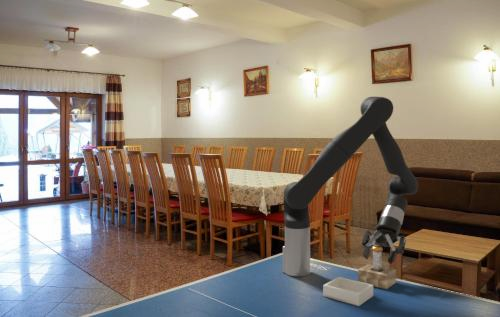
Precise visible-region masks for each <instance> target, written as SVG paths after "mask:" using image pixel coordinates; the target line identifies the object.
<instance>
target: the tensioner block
mask: <svg viewBox="0 0 500 317" xmlns="http://www.w3.org/2000/svg"><path fill="white" fill-rule="evenodd" d="M357 281H359V282H363V283H367V284H372V285H373V287H375V288H379V289H383V290H388V289H389V288H391V287H392V286H393V285H395V284H396V283H397V269H395V268H391V267H386V266H381V272H377V271H373V264H370V263H367V264H366V265H364V266H361V267H360V268H359V269H357Z"/></svg>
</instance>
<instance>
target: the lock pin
mask: <svg viewBox="0 0 500 317" xmlns="http://www.w3.org/2000/svg"><path fill="white" fill-rule="evenodd" d="M383 247H384V246H379V245H378V246H372V249H371V250H372V265H373V271H377V272H381V267H383V266H382V265H383V264H382V261H383V260H382V258H383V257H382V256H383V255H382V252H383Z"/></svg>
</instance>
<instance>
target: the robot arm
mask: <svg viewBox="0 0 500 317" xmlns="http://www.w3.org/2000/svg"><path fill="white" fill-rule="evenodd" d="M393 112H394V104H393V102H392V101H391V99H389V98H387V97H384V96H369V97H366V98H365V99H364V100H363V101H362V102H361V104H360V114H361V116H360V117H359V118H358V120H356V122H354V123H353V124H352V125H351V126H349V127H348V128H346V129H344V130H343V131H341V132H340V133H339V134H337V135H336V136H334V137H333V138H332V139H331V140H330V142H328V144H326V146H325V147H324V148H323V149H322V151H320V153H319V155H318V156H317V157H316V159H315V161H314V163H313V164H312V166H311V168H310V169H309V170H308V171H307V172H306V173H305V174H304V175H303V176H302V177H301V178H300V179H299V180H298V181H293V182H290V183H288V184H287V185H286V186H285V187H284V188H285V189H284V191H283V219H284V245H283V246H282V273H284V274H286V275H287V276H291V277H306V276H308V275H310V274H311V217H310V212H309V205H310V204H311V202H312V201H313V200H314V199H315V197H316V196H317V194H318V192H319V191H320V190H321V189H322V188H323V186H324V185H325V184H326V183H327V182H328V181H329V180H331V178H333V177H334V175H336V173H337V172H338V171H340V170H341V168H342V167H344V165H346V163H347V162H348V161H349V160H350V159H351V158H352V157H353V156H354V154H356V152H357V151H358V150H359V149H360V148H361V147H362V146H363V145H364V143H366V141H367V140H368V138H370V137H371V136H373V138H374V140H375V143H376V144H377V147H378V150H379V151H380V155H381V157H382V160H383V163H384V165H385V169H386V171H387V172H388V174H389V175H393V176H394V175H395V176H394V177H392V178H391V179H390V180H389V182H388V184H387V185H388V186H387V190H388V191H387V201H386V203H385V206H384V208H383V210H382V212H381V215H380V218H379V220H378V223H377V225H376V229H375V231H374V232H373V231H372V232H371V231H370V230H369V229H368V230H366V231H365V234H364V235H363V238H362V240H361V246H362V247H363V248H364V249H363V252H362V255H363V257H364V259H365V260H369V259H368V258H369V257H370V253H371V250H372V246H381V247H385V248H389V247H390V248H391V250H390V253H389V256H388V259H387V262H388V264H389V265H390V264H393V263H394V262H395V261H396V260H395V259H396V258H397V257H396V256H397V255H403V254H404V252H405V247H406V243H407V239H406V236H405V235H403V234H402V235H401V236H399V234H400V231H401V227H402V225H403V223H404V222H403V221H404V216H405V213H406V211H407V210H406V209H407V206H408V200H407V198H406V197H405V196H411V195H415V194H416V193H417V192H418V191H419V190H418V189H419V182H418V180H417V178H416V176H415V175H414V174H413V172H412V171H411V169H410V168H409V167H408V165H407V163H406V161H405V157H404V155H403V152H402V149H401V148H400V146H399V144H398V143H397V141H396V139H395V138H394V137H393V135H392V133H391V131H390V130H389V128H388V125H387V122H388V121H389V120H390V118H391V117H392V115H393ZM397 241H398V247H395V245H394V244H395V243H396V242H397Z"/></svg>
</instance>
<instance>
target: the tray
mask: <svg viewBox="0 0 500 317" xmlns="http://www.w3.org/2000/svg"><path fill="white" fill-rule="evenodd" d="M322 288H323V289H322V296H323V297H325V298H328V299H332V300H336V301H339V302H343V303H347V304H350V305H353V306H357V307H360V306H362V304H364V303H365V302H366V301H368V300H369V299H371V298H372V297H374V286H373V285H372V284H367V283H363V282H359V281H358V280H353V279H349V278H346V277H342V276H338V277H336V278H334V279H332V280H330V281H328V282H327V283H325V284H323V285H322Z"/></svg>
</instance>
